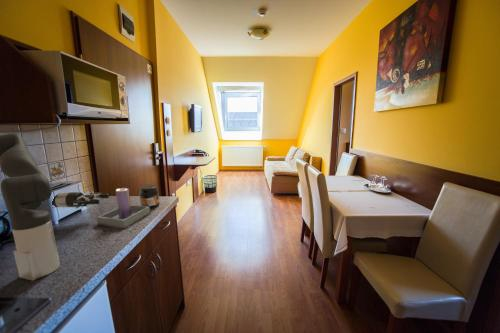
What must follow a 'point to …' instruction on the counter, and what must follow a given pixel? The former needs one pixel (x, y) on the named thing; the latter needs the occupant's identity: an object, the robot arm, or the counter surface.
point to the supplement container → (149, 196)
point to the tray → (115, 221)
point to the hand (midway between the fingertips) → (103, 198)
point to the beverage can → (123, 203)
